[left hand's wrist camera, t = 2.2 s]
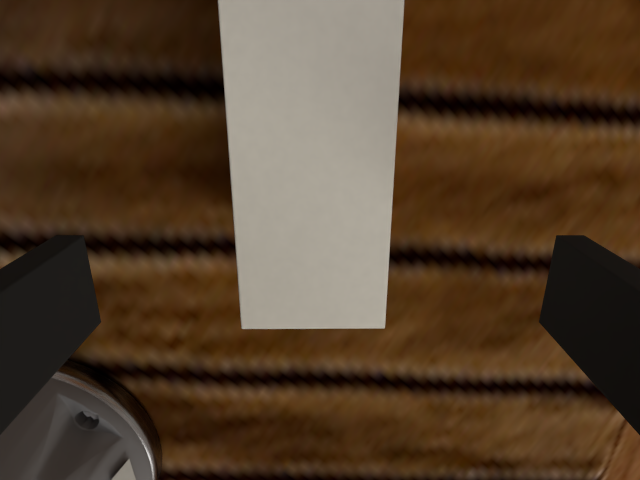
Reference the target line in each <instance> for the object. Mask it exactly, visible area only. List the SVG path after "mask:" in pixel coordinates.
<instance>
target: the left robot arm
mask: <svg viewBox="0 0 640 480" xmlns="http://www.w3.org/2000/svg"><path fill="white" fill-rule="evenodd" d="M100 323H101V320H100V315H99V310H98V305H97V300H96V295H95V290H94V285H93V280H92V275H91V270H90V265H89V260H88V255H87V250H86V245H85V240H84V235H56V236H54V237H53V238H51V239H49V240H48V241H46V242H44V243H43V244H41V245H39V246H38V247H36V248H34V249H33V250H31V251H29V252H28V253H26V254H24V255H23V256H21V257H19V258H18V259H16V260H15V261H13V262H11V263H10V264H8V265H6V266H5V267H3V268H1V269H0V480H158V479H159V476H160V473H161V467H162V449H161V444H160V440H159V437H158V434H157V431H156V429H155V427H154V425H153V423H152V421H151V419H150V418H149V416H148V415H147V413H146V412H145V410H144V409H143V408H142V407H141V405H140V404H139V403H138V402H137V401H136V400H135V399H134V398H133V397H132V396H131V395H130V394H129V393H128V392H127V391H126V390H124V389H123V388H122V387H121V386H119V385H118V384H117V383H115V382H114V381H112V380H111V379H109V378H108V377H106V376H104V375H102V374H101V373H99V372H97V371H95V370H93V369H91V368H88V367H86V366H84V365H81V364H78V363H76V362H73V361H69V360H68V358H69V357H70V356H71V355H72V354H73V353H74V352H75V351H76V349H77V348H78V347H79V346H80V345H81V344H82V343H83V342H84V340H85V339H86V338H87V337H88V336H89V335H90V334H91V333H92V331H93V330H94V329H95V328H96V327H97V326H98V325H99V324H100ZM539 323H540V324H541V325H542V326H543V327H544V328H545V329H546V330H547V331H548V333H549V334H550V335H551V336H552V337H553V338H554V339H555V340H556V342H557V343H558V344H559V345H560V346H561V347H562V348H563V349H564V351H565V352H566V353H567V354H568V355H569V356H570V357H571V358H572V360H573V361H574V362H575V363H576V364H577V365H578V366H579V367H580V369H581V370H582V371H583V372H584V373H585V374H586V375H587V376H588V378H589V379H590V380H591V381H592V382H593V383H594V384H595V385H596V387H597V388H598V389H599V390H600V391H601V392H602V393H603V394H604V396H605V397H606V398H607V399H608V400H609V401H610V402H611V403H612V404H613V406H614V407H615V408H616V409H617V410H618V411H619V412H620V413H621V415H622V416H623V417H624V418H625V419H626V420H627V421H628V422H629V424H630V425H631V426H632V427H633V428H634V429H635V430H636V431H637V433H638V434H639V435H640V269H639V268H637V267H635V266H634V265H632V264H630V263H629V262H627V261H625V260H624V259H622V258H621V257H619V256H617V255H616V254H614V253H612V252H611V251H609V250H607V249H606V248H604V247H602V246H601V245H599V244H597V243H596V242H594V241H592V240H591V239H589V238H587V237H586V236H584V235H556V240H555V245H554V250H553V255H552V260H551V265H550V270H549V275H548V280H547V285H546V290H545V295H544V300H543V305H542V310H541V315H540V320H539Z"/></svg>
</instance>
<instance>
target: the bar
mask: <svg viewBox="0 0 640 480" xmlns="http://www.w3.org/2000/svg"><path fill="white" fill-rule="evenodd" d="M218 10H219V24H220V38H221V51H222V65H223V79H224V93H225V107H226V121H227V134H228V148H229V162H230V176H231V190H232V204H233V217H234V231H235V245H236V259H237V273H238V287H239V300H240V314H241V328H242V329H322V328H385V318H386V301H387V284H388V267H389V250H390V233H391V216H392V200H393V183H394V166H395V149H396V132H397V115H398V98H399V82H400V65H401V48H402V31H403V14H404V0H218Z"/></svg>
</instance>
